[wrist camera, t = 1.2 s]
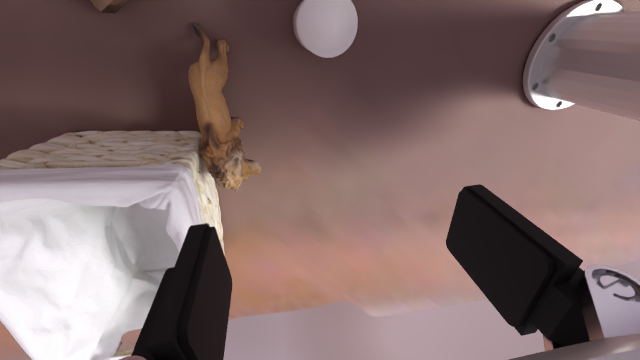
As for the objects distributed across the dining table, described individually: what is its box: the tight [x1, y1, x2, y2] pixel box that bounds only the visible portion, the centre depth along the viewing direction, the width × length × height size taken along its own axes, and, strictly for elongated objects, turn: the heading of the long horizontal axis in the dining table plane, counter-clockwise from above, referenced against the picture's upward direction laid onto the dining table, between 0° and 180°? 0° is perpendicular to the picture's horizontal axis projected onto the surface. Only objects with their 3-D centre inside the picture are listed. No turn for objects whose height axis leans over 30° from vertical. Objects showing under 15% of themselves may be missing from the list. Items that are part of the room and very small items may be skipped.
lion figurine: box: [188, 22, 261, 192], centre depth 26 cm, size 15×5×9 cm, turn 10°
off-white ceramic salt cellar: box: [293, 0, 358, 58], centre depth 25 cm, size 5×5×6 cm
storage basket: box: [0, 131, 225, 360], centre depth 29 cm, size 24×16×15 cm
